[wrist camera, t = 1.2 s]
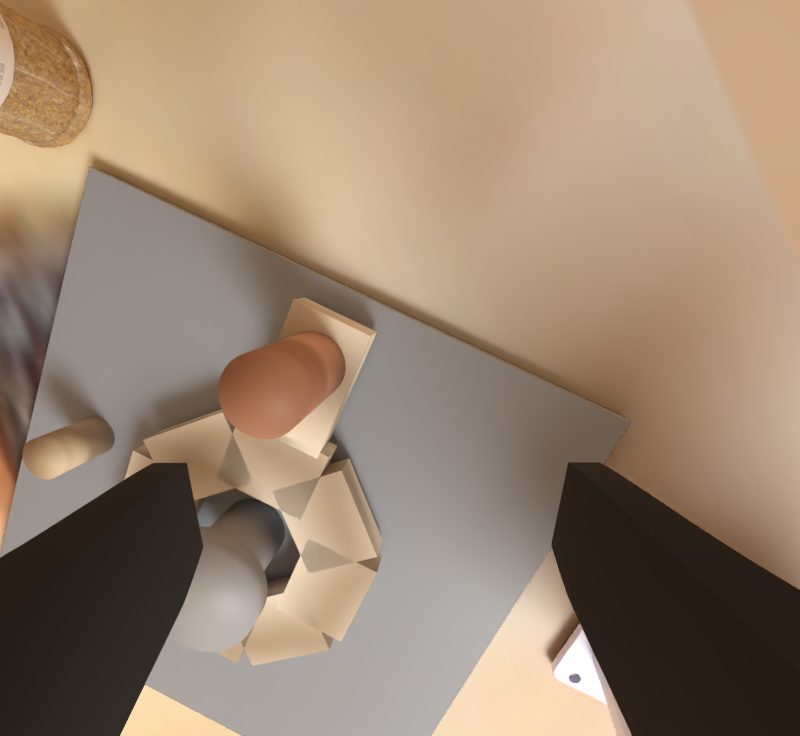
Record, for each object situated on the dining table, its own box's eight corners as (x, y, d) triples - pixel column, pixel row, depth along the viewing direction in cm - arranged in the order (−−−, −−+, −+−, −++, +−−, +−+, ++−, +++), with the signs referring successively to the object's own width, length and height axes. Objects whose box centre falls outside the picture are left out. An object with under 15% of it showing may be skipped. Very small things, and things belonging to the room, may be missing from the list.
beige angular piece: (318, 677, 21) (269, 814, 16) (111, 570, 22) (-6, 668, 17) (473, 377, 17) (476, 425, 12) (211, 253, 18) (99, 245, 12)
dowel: (118, 426, 20) (65, 450, 18) (109, 459, 21) (56, 486, 18) (85, 410, 21) (27, 431, 18) (76, 442, 21) (18, 467, 18)
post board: (625, 417, 18) (689, 475, 13) (385, 797, 24) (363, 938, 19) (101, 170, 19) (-34, 132, 14) (0, 594, 25) (-120, 677, 20)
